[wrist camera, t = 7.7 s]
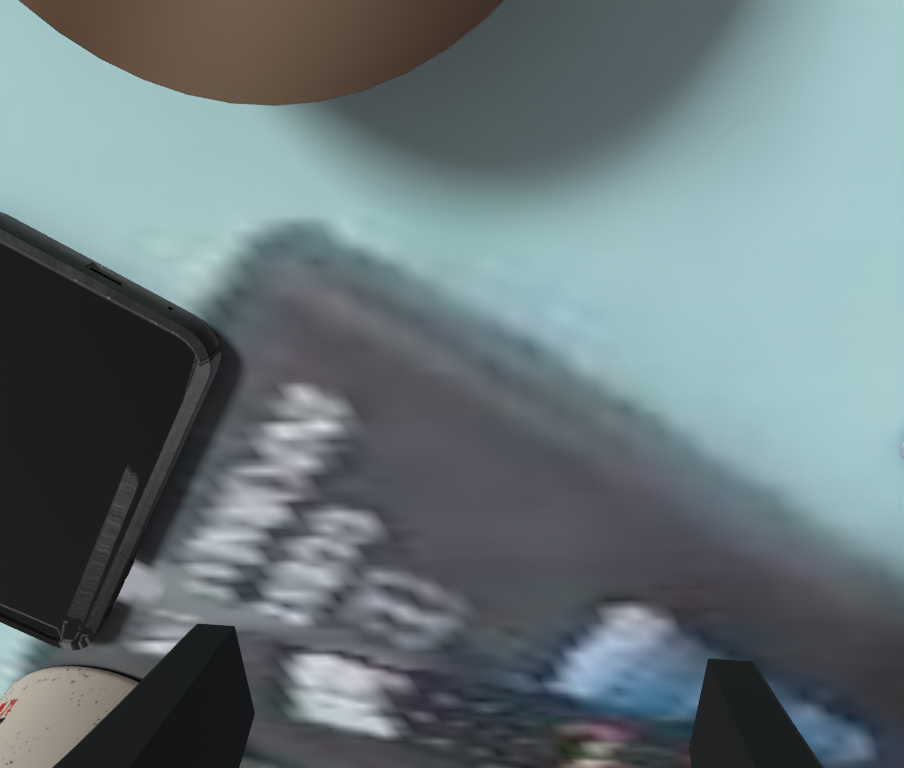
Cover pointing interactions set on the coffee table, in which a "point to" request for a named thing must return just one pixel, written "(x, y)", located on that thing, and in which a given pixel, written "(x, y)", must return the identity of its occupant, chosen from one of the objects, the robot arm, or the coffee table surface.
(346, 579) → the coffee table surface
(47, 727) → the teacup with lid
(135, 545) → the phone
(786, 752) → the robot arm
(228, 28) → the walnut lid
